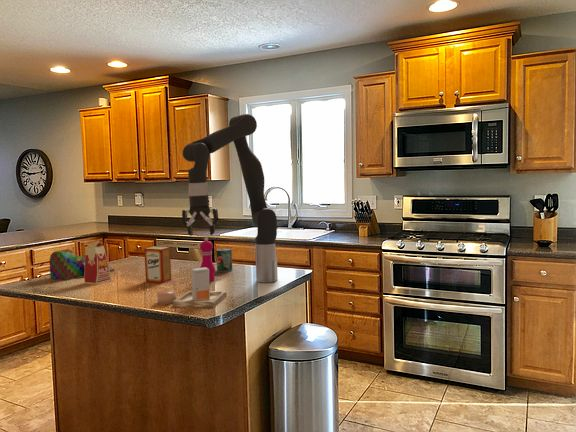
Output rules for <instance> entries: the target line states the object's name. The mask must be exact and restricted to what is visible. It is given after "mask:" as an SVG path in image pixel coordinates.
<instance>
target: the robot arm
mask: <svg viewBox="0 0 576 432" xmlns="http://www.w3.org/2000/svg"><path fill="white" fill-rule="evenodd" d="M257 126H258V123H257V119H256V118H255V117H254V116H253V115H252V114H250V113H243V114H240V115H236V116H233V117H231V118H230V120H229V122H228V126H227V127H224V128H221V129H219V130H216V131H214V132H212V133H210V134H208V135H206V136H204V137H203V138H201V139H197V140H195V141H191V142H190V143H188V144H186V145H184V147H183V149H182V157H183V158H184V160H185V161H187V162H190V163H193V162H194V164H193V165H194V166H193V167H191V168H189V169H188V171H187V174H188V199H189V202H188V203H189V209H186V208H185V209H183V210H182V211H181V216H182V218H181V224H182V225H183V226H186V227H187V233H188V235H189V236H190V237H191V236H193V235H194V233H193V231H194V229H193V223H194V222H195V221H204V220H205V222H207V223H208V224H209V236H213V235H214V234H215V230H216V229H215V225H217V224H218V223H219V221H220V220H219V213H218V208H216V207H215V208H210V201H209V199H210V198H209V187H208V181H207V169H208V166H209V159H210V155H211V154H213V153H215V152H217V151H219V150H221V149H222V148H224V147H225V146H227V145H229V144H230V143H232V142H233V144H234V147H235V149H236V154H237V157H238V161H239V166H240V169H241V175H242V179H243V181H244V186H245V189H246V193H247V196H248V200H249V206H250V213H251V220H252V222H253V224H254V225H255V226H256V227H257V234H256V236H255V238H254V249H255V250H254V252H255V279H256V282H258V283H262V284H263V283H264V284H266V283H267V284H268V283H276V281H277V280H278V278H279V277H278V259H277V254H276V253H277V252H276V251H277V250H276V246H277V245H276V239H277V234H278V219H277V214H276V212H275V211H274V210H273V209H271V208H269V207H268V205H267V202H266V198H265V174H264V171H263V170H264V169H263V166H262V163H261V161H260V160H259V158H258V157H257V155H256V154H255V153H254V152H253V151H252V150H251V148H250V146H249V144H248V140H247V136H251V135H252V134H254V133H255V132H256V130H257V128H258V127H257ZM210 213H211V215H212V216H213V219H212V216H210ZM189 214H190V216H191V217H190V218H189V220H188V215H189Z"/></svg>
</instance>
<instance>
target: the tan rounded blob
mask: <svg viewBox="0 0 576 432" xmlns="http://www.w3.org/2000/svg"><path fill="white" fill-rule="evenodd" d="M156 293H157V294H156V295H157V304H158V305H171V304H172V305H173V301H174V300H175V299H177V292H176V290H173V289H166V290H165V289H164V290H160V291H158V292H156Z"/></svg>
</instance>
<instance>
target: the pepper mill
mask: <svg viewBox="0 0 576 432" xmlns="http://www.w3.org/2000/svg"><path fill="white" fill-rule="evenodd" d="M199 248H200V250H201V252H200V253H201V256H202V260H201V265H200V267H199V268H204V267H206V268H208V269H209V282H212V281H215V280H216V279H215V275H214V274H215V273H216V268H215V265H214V263H213V260H212V255H213V251H212V250H213V248H214V245H213V243H212V242H211V241H210V240H209V238H208V237H204V241H202V242H200V245H199Z"/></svg>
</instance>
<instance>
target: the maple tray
mask: <svg viewBox="0 0 576 432" xmlns="http://www.w3.org/2000/svg"><path fill="white" fill-rule="evenodd" d="M227 295H228V294H227V291H224V290H223V291H218V290H217V291H214V290H210V299H207V300H199V301H195V300H193V299H192V290H188V291H186V292H185V293H183V294H182V295H180V296H178V297H176V299H175V300H174V301H173V303H172V307H178V308H179V307H182V308H183V307H185V308H188V307H189V308H216V306H217V305H219V303H221V302H222V301H224V300H225V298H226V297H227Z"/></svg>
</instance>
